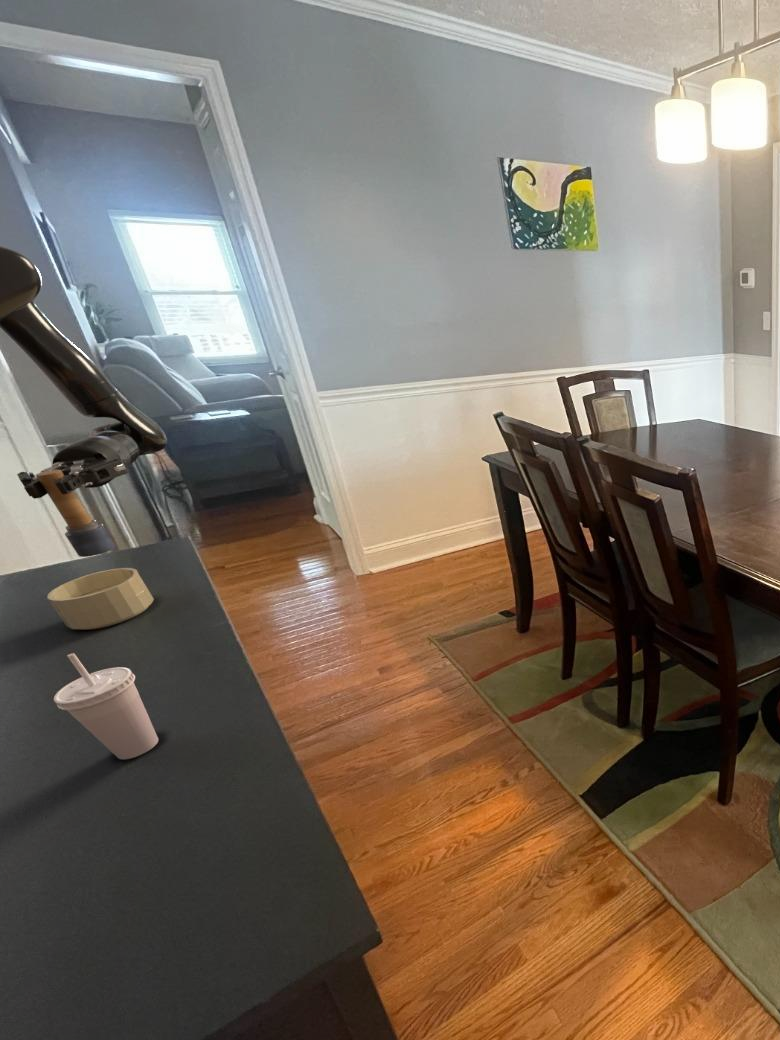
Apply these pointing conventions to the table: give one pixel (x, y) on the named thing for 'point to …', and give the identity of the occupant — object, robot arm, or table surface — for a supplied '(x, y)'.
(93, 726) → the smoothie
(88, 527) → the brush
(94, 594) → the bowl
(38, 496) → the robot arm
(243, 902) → the table surface
